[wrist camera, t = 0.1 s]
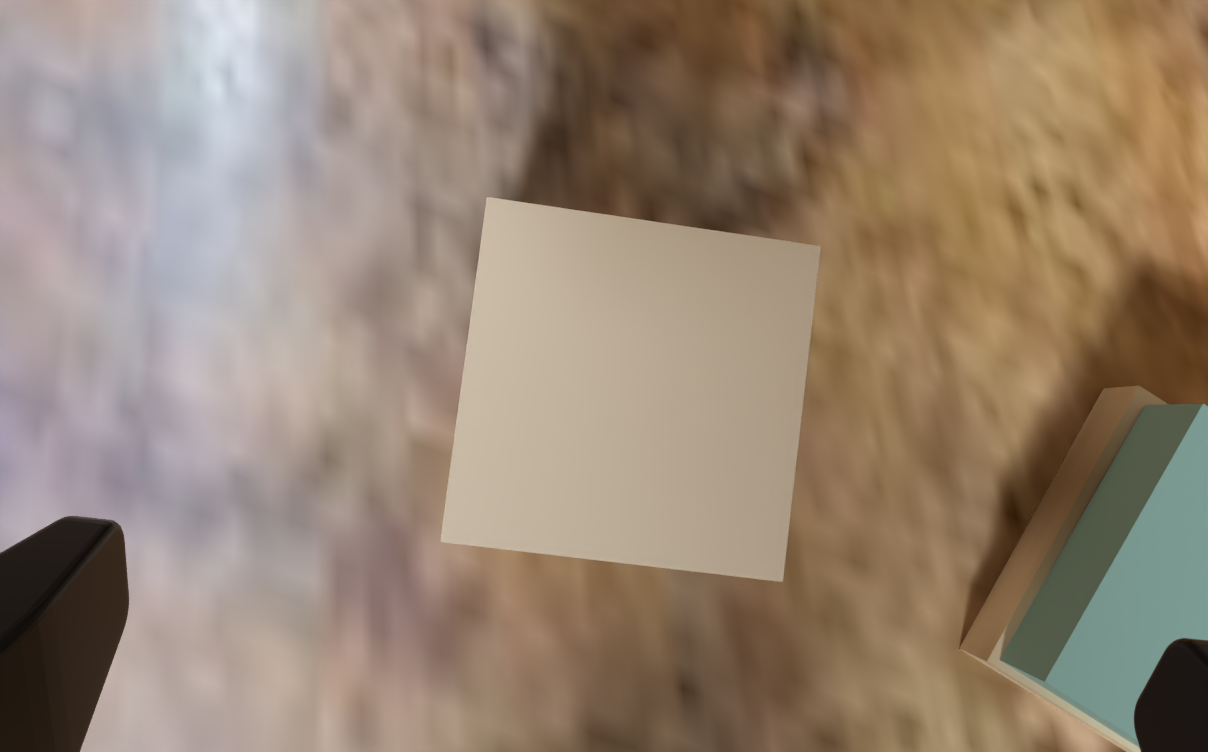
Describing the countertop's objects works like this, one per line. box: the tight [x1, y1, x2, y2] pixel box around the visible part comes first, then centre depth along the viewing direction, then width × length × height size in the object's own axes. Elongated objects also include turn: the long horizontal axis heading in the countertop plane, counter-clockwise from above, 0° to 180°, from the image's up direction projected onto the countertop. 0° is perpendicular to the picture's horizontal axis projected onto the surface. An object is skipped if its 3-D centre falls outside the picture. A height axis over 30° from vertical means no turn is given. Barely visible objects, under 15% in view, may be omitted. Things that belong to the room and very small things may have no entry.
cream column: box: [440, 197, 821, 582], centre depth 19 cm, size 4×4×10 cm
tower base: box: [959, 386, 1167, 752], centre depth 25 cm, size 7×7×2 cm
